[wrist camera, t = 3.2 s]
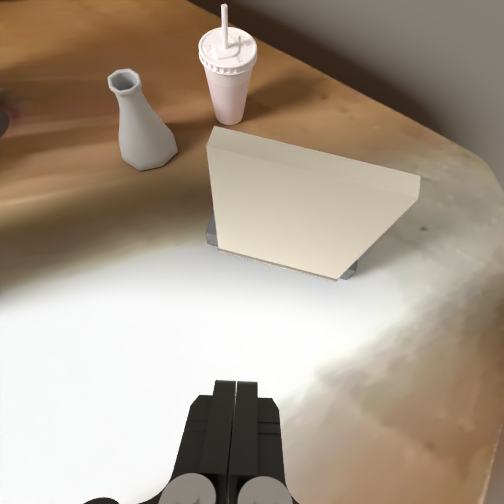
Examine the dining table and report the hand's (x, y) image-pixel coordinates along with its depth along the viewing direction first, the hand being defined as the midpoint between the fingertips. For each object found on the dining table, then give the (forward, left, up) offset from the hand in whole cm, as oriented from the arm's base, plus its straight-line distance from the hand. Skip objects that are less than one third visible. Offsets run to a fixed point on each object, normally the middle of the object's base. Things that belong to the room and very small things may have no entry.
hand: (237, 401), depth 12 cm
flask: (-12, +28, -22) cm, 37 cm away
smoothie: (-2, +34, -22) cm, 40 cm away
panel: (+4, +12, -18) cm, 22 cm away
